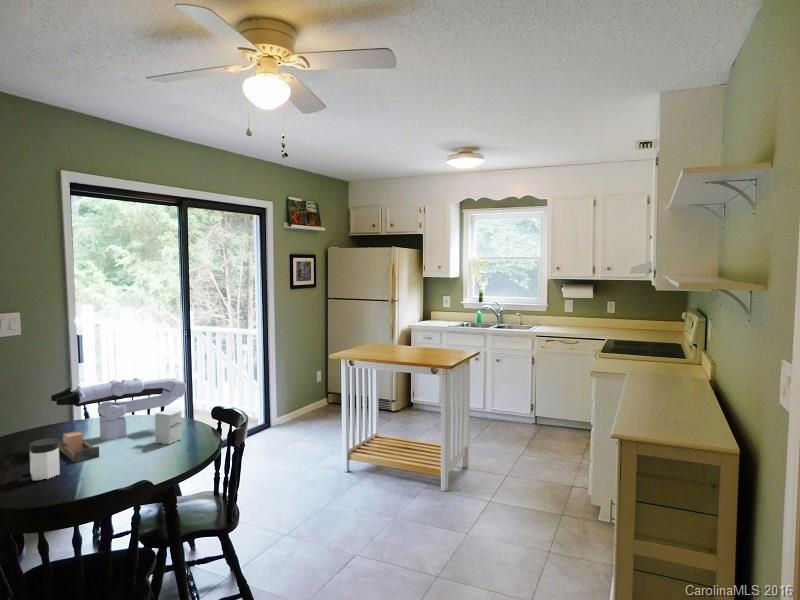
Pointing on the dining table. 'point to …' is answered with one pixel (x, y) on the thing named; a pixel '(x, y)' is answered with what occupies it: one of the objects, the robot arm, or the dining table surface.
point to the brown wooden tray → (80, 452)
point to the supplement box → (168, 426)
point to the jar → (44, 459)
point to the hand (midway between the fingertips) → (53, 400)
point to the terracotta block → (73, 440)
